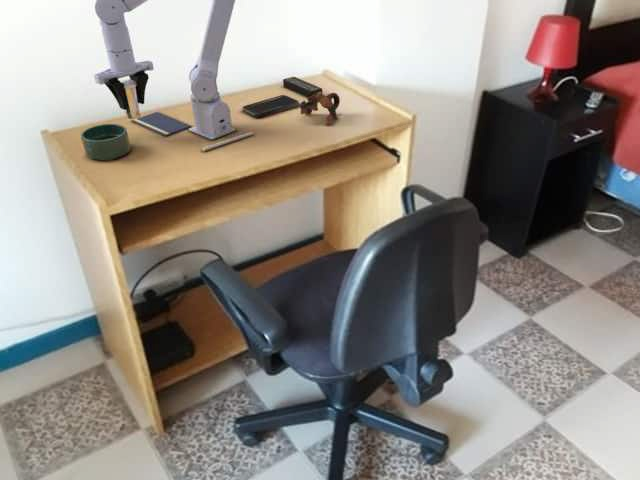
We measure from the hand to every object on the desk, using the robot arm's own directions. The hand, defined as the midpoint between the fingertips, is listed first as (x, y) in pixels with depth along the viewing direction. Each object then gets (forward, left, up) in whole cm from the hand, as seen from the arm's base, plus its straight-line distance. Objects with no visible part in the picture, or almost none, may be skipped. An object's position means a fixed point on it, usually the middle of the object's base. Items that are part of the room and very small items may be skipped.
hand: (132, 105), depth 143 cm
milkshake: (0, 0, -3) cm, 3 cm away
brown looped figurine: (-27, -40, -8) cm, 49 cm away
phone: (-11, -36, -8) cm, 38 cm away
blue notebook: (+3, -9, -8) cm, 12 cm away
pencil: (-20, -13, -8) cm, 25 cm away
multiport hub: (-8, -52, -8) cm, 53 cm away
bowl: (-2, +10, -8) cm, 13 cm away
